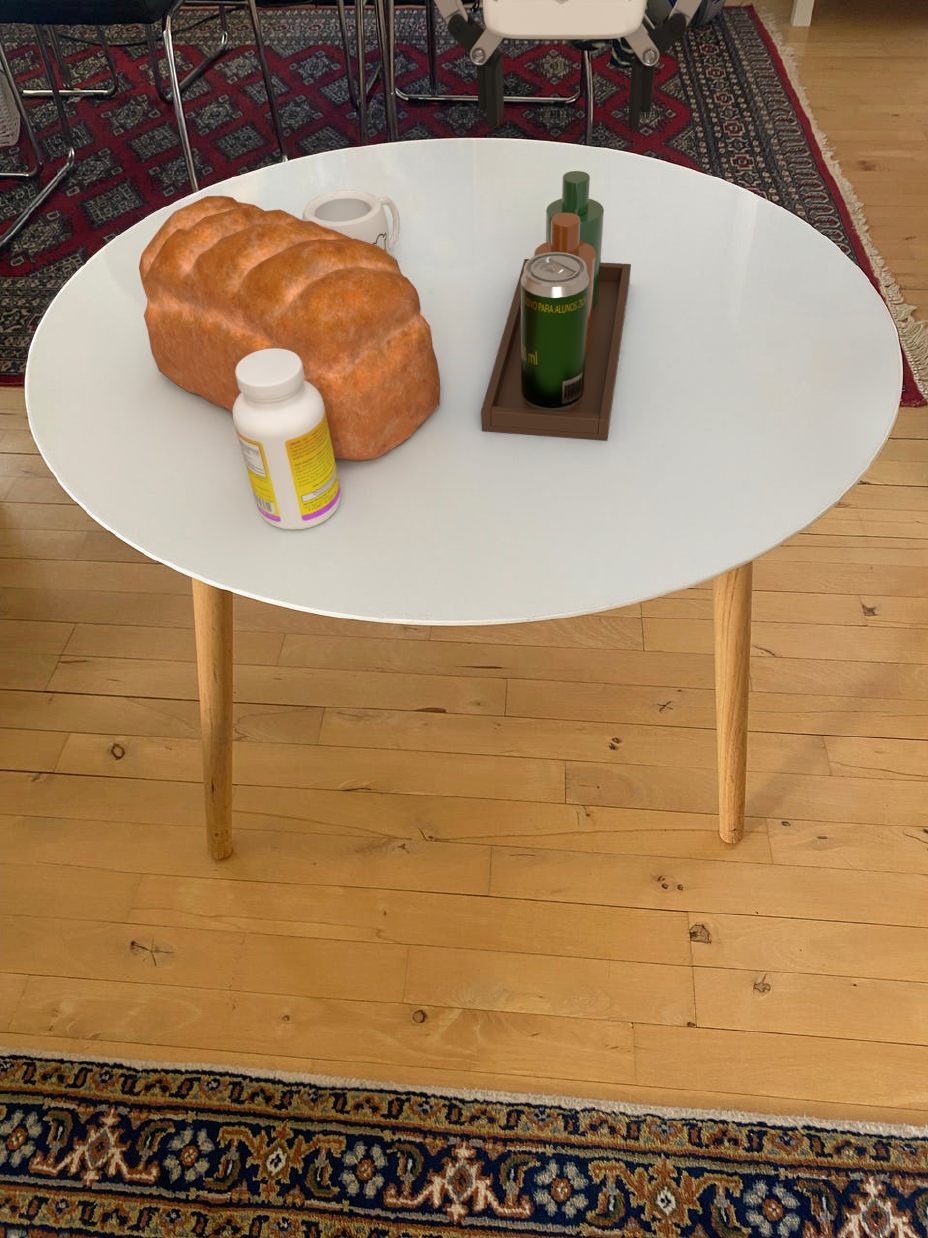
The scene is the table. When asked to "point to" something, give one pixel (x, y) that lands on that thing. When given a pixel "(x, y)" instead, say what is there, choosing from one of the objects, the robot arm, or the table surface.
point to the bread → (291, 317)
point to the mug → (355, 216)
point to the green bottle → (581, 216)
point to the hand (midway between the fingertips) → (564, 121)
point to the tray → (594, 408)
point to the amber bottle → (572, 252)
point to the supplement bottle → (285, 440)
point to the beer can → (553, 330)
